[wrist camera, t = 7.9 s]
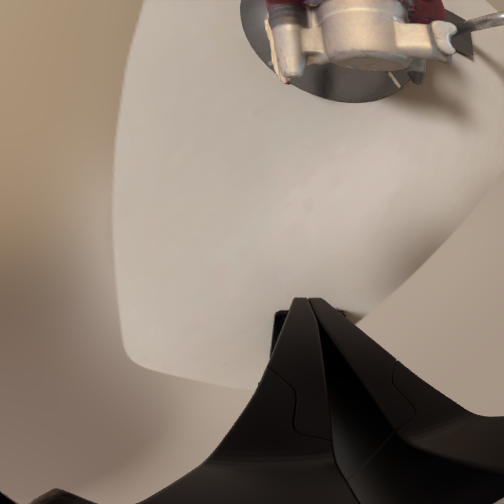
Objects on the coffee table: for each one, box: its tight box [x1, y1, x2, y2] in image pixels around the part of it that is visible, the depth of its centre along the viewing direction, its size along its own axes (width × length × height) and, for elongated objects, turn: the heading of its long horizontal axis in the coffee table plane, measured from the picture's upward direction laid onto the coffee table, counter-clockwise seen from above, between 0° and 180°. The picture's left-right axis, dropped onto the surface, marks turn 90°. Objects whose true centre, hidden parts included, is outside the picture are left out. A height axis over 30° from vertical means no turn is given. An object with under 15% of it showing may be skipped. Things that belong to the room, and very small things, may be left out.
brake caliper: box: [265, 0, 457, 85], centre depth 11 cm, size 11×11×12 cm
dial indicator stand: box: [444, 9, 504, 56], centre depth 8 cm, size 4×4×12 cm
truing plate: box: [240, 0, 410, 102], centre depth 14 cm, size 14×14×1 cm
